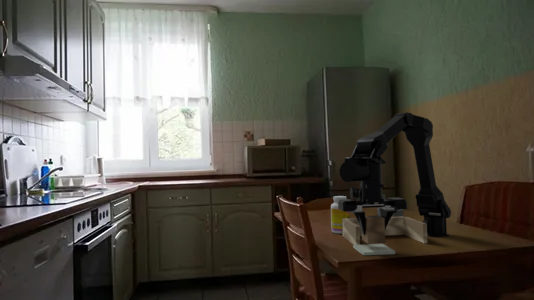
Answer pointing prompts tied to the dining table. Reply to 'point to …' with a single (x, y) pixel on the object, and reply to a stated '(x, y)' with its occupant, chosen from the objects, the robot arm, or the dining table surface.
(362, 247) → the tile
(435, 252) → the dining table surface
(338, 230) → the supplement bottle
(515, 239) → the dining table surface
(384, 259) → the dining table surface
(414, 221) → the wooden u-shaped frame
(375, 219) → the block
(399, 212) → the mortar and pestle
